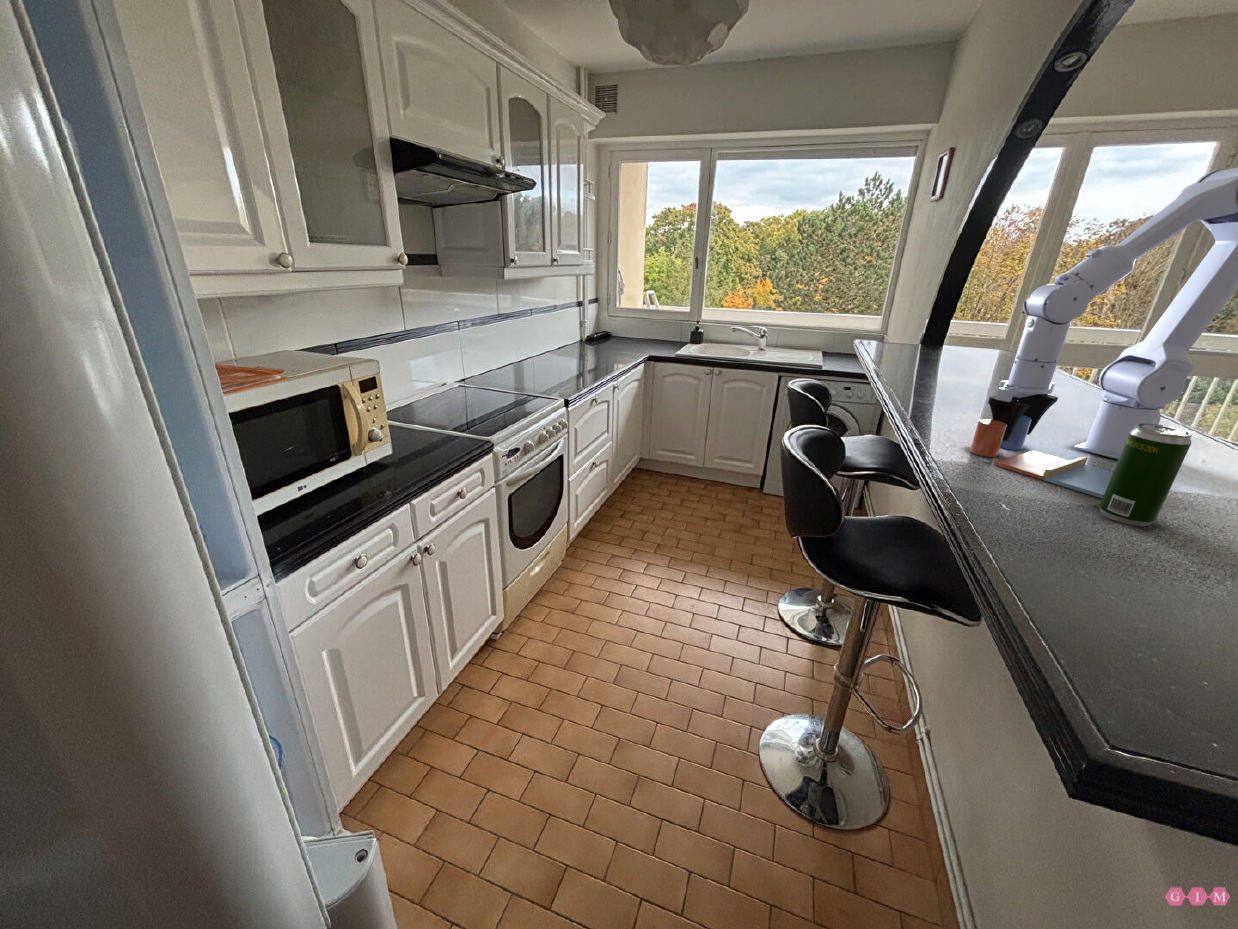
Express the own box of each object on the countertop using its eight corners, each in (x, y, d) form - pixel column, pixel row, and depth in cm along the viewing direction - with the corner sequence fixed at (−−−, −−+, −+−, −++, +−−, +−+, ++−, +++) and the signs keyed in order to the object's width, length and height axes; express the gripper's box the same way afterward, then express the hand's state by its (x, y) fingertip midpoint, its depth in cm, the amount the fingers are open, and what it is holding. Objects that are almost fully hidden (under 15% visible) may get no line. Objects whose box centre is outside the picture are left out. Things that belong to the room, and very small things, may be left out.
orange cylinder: (977, 447, 90) (986, 417, 88) (1002, 454, 87) (1012, 424, 85) (964, 451, 88) (973, 420, 86) (989, 458, 85) (999, 427, 83)
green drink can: (1146, 531, 62) (1189, 439, 57) (1090, 514, 66) (1126, 426, 62) (1159, 520, 65) (1200, 431, 60) (1104, 504, 69) (1139, 420, 64)
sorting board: (1032, 453, 87) (1035, 443, 87) (1138, 483, 76) (1142, 472, 75) (994, 464, 82) (997, 454, 81) (1101, 498, 71) (1106, 486, 70)
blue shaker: (1002, 441, 93) (1011, 412, 91) (1026, 447, 90) (1036, 418, 88) (990, 444, 92) (999, 415, 90) (1014, 451, 88) (1024, 421, 86)
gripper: (1031, 353, 92) (1008, 424, 97) (987, 358, 85) (964, 435, 90) (1078, 359, 86) (1051, 435, 91) (1034, 366, 79) (1008, 447, 84)
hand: (1011, 436), depth 90 cm, fingers open, 7 cm apart
